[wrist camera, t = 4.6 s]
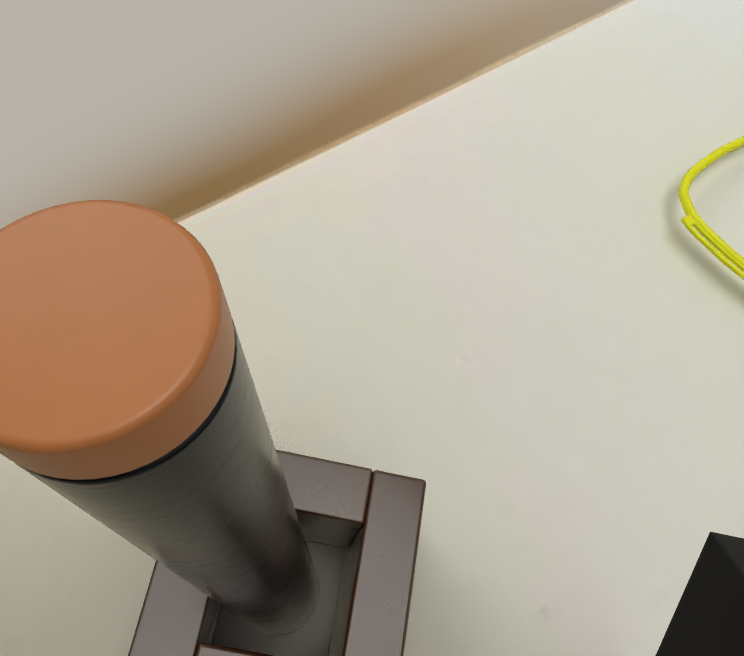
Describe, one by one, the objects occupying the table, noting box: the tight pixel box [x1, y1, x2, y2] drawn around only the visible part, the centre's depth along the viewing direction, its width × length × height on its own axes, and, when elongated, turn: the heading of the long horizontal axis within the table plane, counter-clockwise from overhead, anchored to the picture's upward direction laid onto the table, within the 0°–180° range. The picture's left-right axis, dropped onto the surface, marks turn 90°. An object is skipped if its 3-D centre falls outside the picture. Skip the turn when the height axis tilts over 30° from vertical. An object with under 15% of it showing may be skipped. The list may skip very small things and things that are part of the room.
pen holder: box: [128, 450, 426, 656], centre depth 18 cm, size 6×6×4 cm
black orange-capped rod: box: [0, 200, 319, 635], centre depth 13 cm, size 2×2×16 cm
